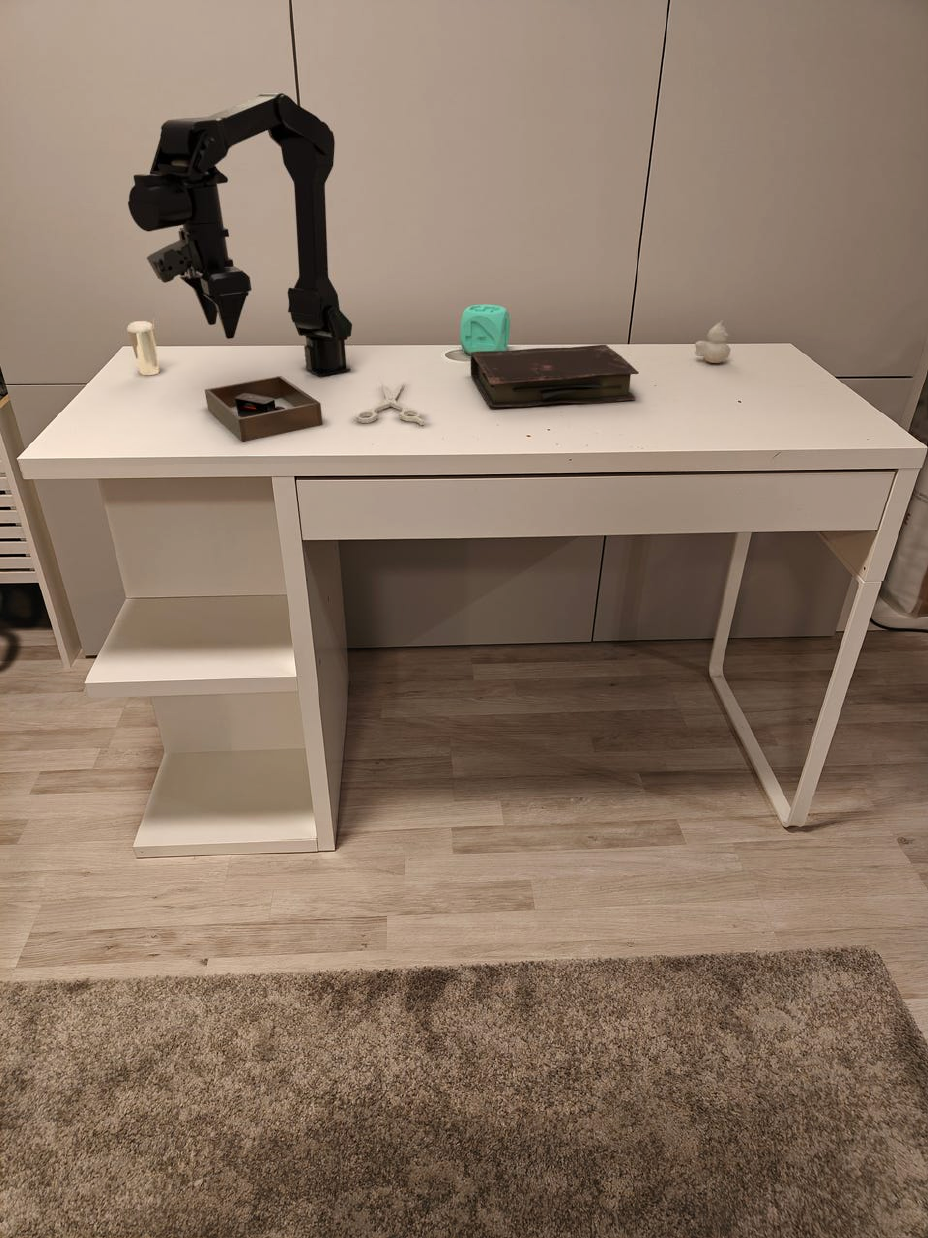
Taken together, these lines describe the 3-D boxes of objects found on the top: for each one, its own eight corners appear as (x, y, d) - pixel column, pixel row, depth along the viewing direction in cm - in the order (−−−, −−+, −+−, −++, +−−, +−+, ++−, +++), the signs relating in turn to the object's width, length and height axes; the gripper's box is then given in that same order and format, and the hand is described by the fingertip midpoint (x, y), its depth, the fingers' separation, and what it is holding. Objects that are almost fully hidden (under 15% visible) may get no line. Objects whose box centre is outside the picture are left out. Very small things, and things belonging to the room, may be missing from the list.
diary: (470, 376, 150) (470, 348, 147) (602, 368, 153) (605, 341, 150) (490, 412, 134) (491, 381, 132) (637, 402, 138) (640, 372, 135)
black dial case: (272, 424, 130) (269, 404, 128) (236, 417, 133) (233, 397, 131) (290, 415, 134) (287, 395, 132) (255, 408, 136) (252, 389, 134)
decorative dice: (499, 358, 159) (500, 315, 154) (459, 355, 160) (459, 312, 156) (509, 347, 165) (510, 305, 160) (471, 344, 167) (471, 302, 162)
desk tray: (283, 395, 141) (281, 375, 140) (322, 424, 130) (320, 402, 128) (208, 410, 136) (204, 389, 134) (242, 441, 124) (238, 419, 122)
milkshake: (159, 377, 150) (147, 320, 144) (132, 375, 151) (119, 319, 145) (171, 369, 153) (160, 314, 148) (145, 368, 154) (133, 312, 149)
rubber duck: (731, 366, 154) (738, 322, 150) (695, 366, 154) (702, 322, 150) (724, 358, 159) (732, 314, 154) (690, 357, 159) (696, 314, 154)
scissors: (355, 422, 129) (362, 380, 145) (356, 426, 129) (362, 384, 145) (423, 420, 129) (422, 379, 145) (423, 425, 129) (423, 383, 146)
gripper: (130, 217, 123) (153, 324, 132) (162, 236, 110) (185, 354, 118) (204, 210, 128) (222, 315, 136) (244, 228, 114) (260, 342, 123)
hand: (220, 331), depth 128 cm, fingers open, 9 cm apart
